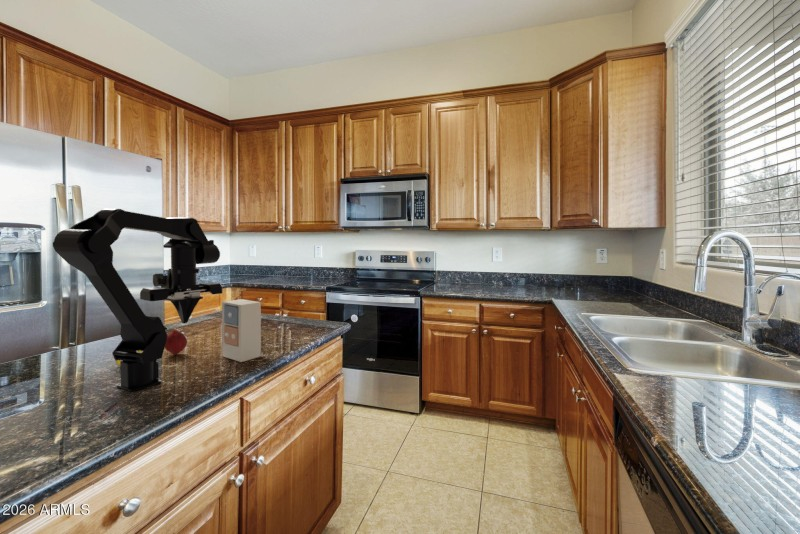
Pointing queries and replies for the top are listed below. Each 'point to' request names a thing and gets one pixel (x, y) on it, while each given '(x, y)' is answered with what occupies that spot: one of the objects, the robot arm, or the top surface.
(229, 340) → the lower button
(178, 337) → the onion
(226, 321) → the upper drawer
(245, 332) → the box
